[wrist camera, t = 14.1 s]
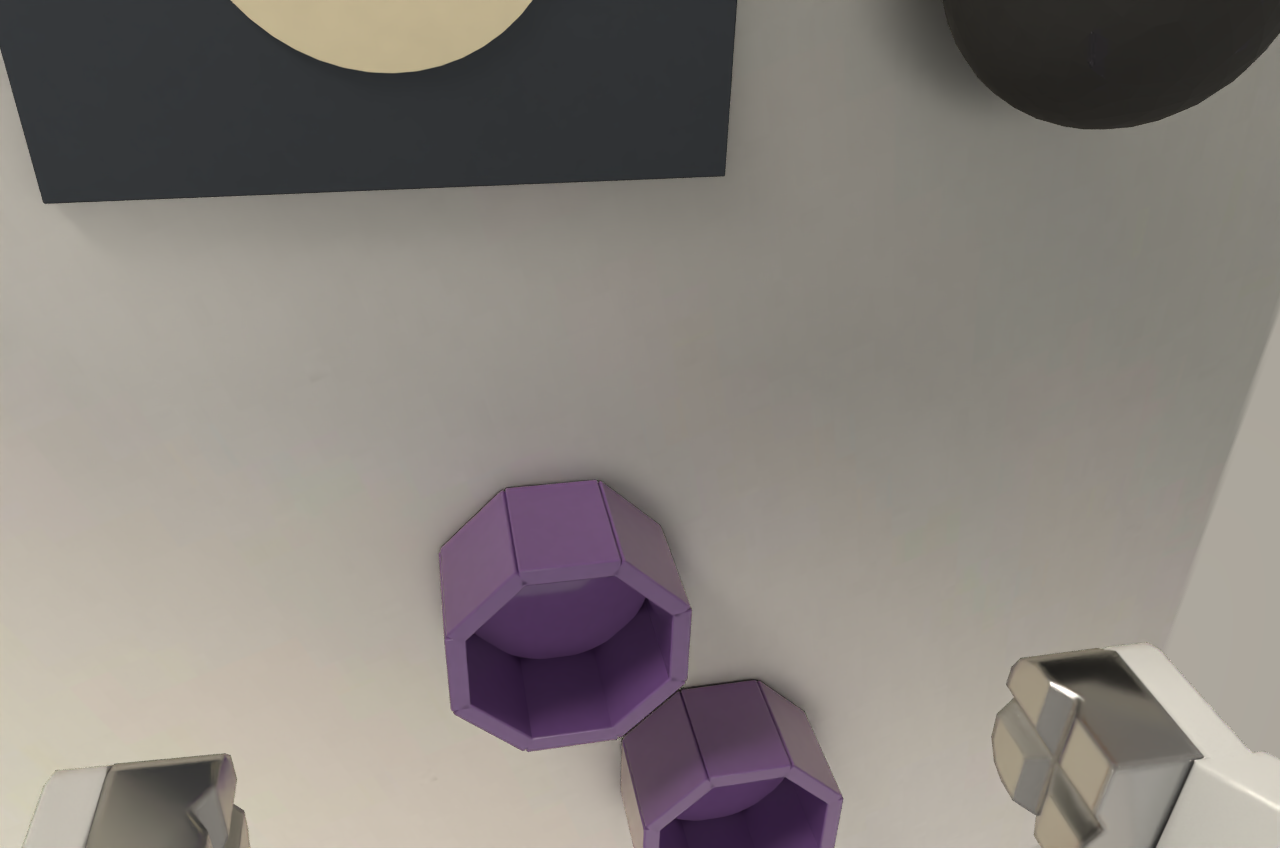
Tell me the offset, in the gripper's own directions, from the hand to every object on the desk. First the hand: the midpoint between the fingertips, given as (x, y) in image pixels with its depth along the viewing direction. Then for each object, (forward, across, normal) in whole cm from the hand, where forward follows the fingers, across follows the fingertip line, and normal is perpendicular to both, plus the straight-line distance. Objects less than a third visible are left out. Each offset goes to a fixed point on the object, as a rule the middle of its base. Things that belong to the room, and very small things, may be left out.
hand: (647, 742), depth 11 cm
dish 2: (+15, -6, +18) cm, 24 cm away
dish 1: (+15, -1, +10) cm, 18 cm away
